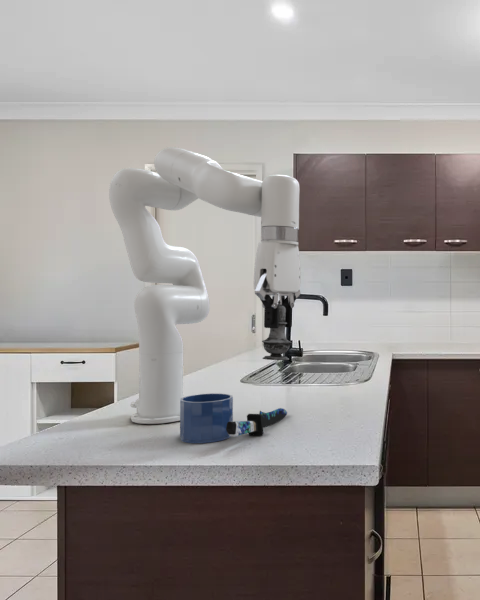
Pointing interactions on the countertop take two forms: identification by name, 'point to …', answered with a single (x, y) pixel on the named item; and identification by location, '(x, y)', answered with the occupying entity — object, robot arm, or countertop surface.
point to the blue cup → (205, 417)
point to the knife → (255, 423)
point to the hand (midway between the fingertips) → (278, 326)
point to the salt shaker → (277, 338)
